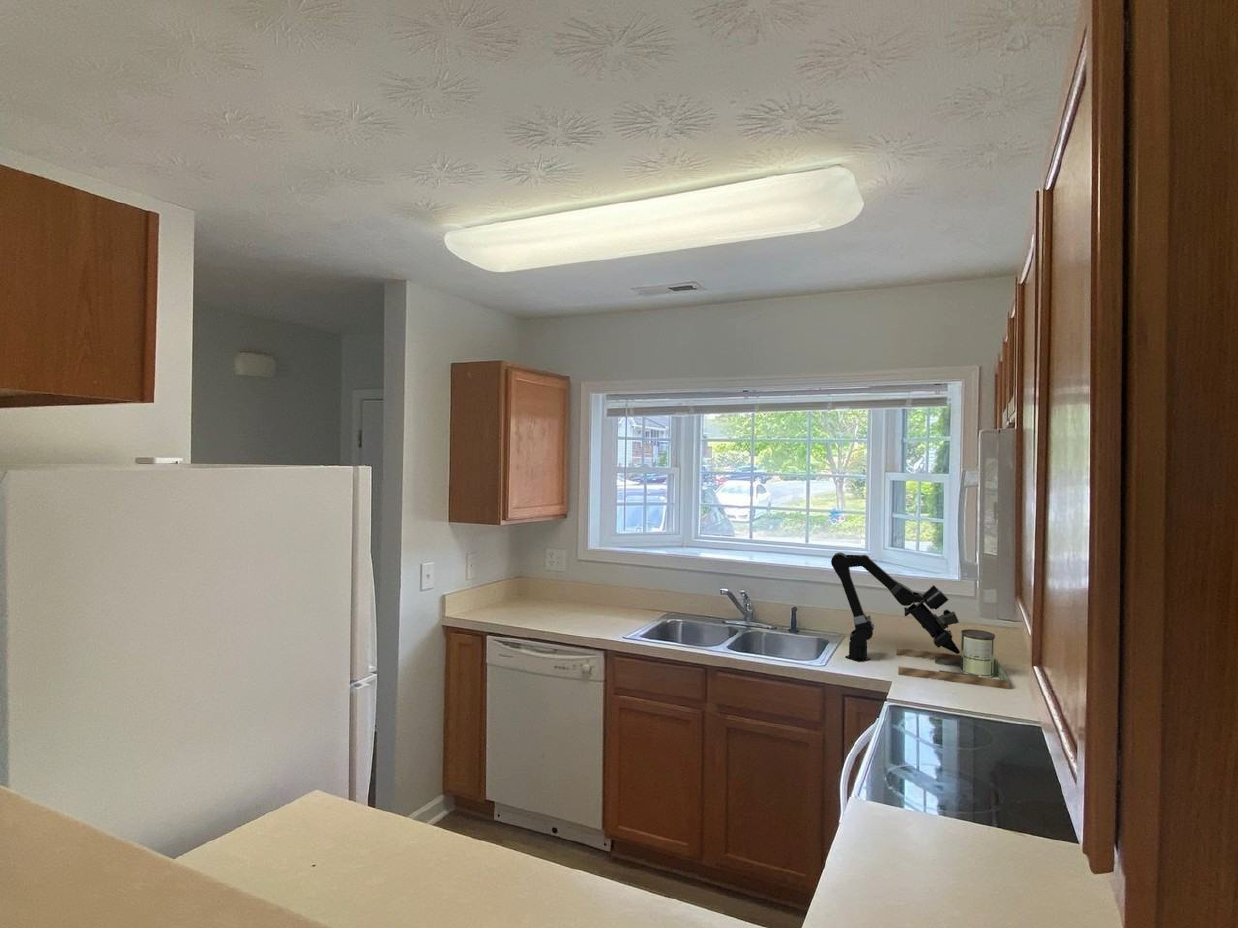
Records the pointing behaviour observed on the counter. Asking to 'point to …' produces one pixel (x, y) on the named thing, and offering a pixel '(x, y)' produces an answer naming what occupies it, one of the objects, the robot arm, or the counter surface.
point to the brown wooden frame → (951, 676)
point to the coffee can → (977, 653)
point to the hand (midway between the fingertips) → (959, 653)
